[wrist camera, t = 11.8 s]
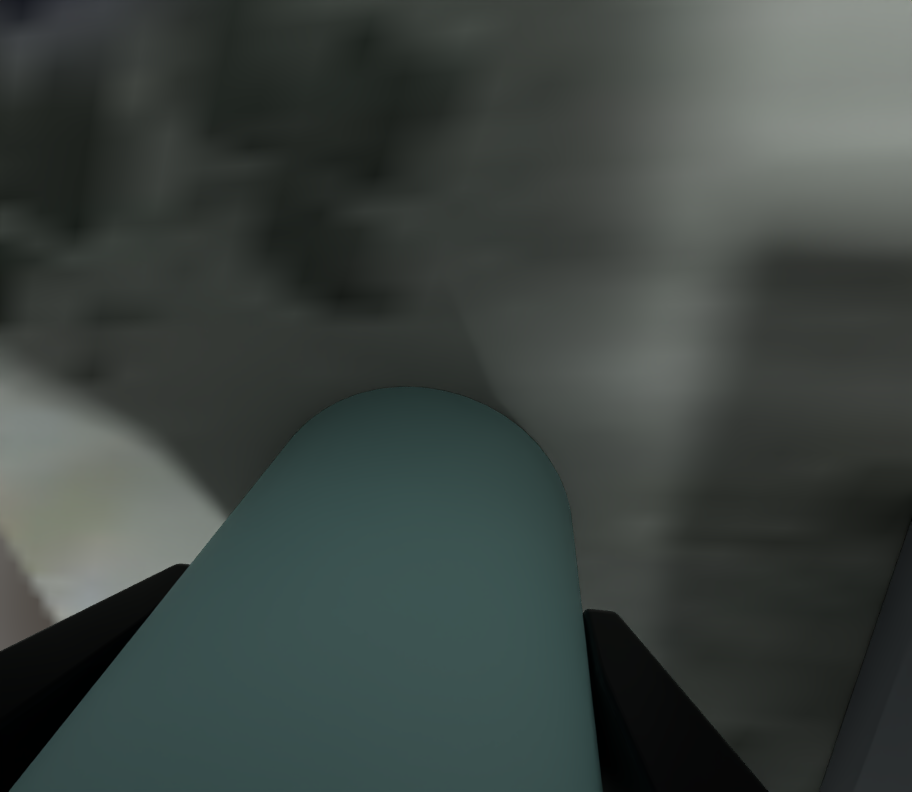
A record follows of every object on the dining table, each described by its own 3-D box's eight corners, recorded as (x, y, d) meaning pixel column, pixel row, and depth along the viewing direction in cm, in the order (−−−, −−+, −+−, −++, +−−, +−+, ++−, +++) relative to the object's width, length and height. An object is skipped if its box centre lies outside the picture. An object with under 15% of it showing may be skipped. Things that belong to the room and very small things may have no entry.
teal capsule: (554, 673, 12) (586, 1336, 5) (271, 638, 12) (-30, 1219, 6) (592, 402, 10) (712, 895, 3) (259, 372, 10) (-203, 767, 4)
